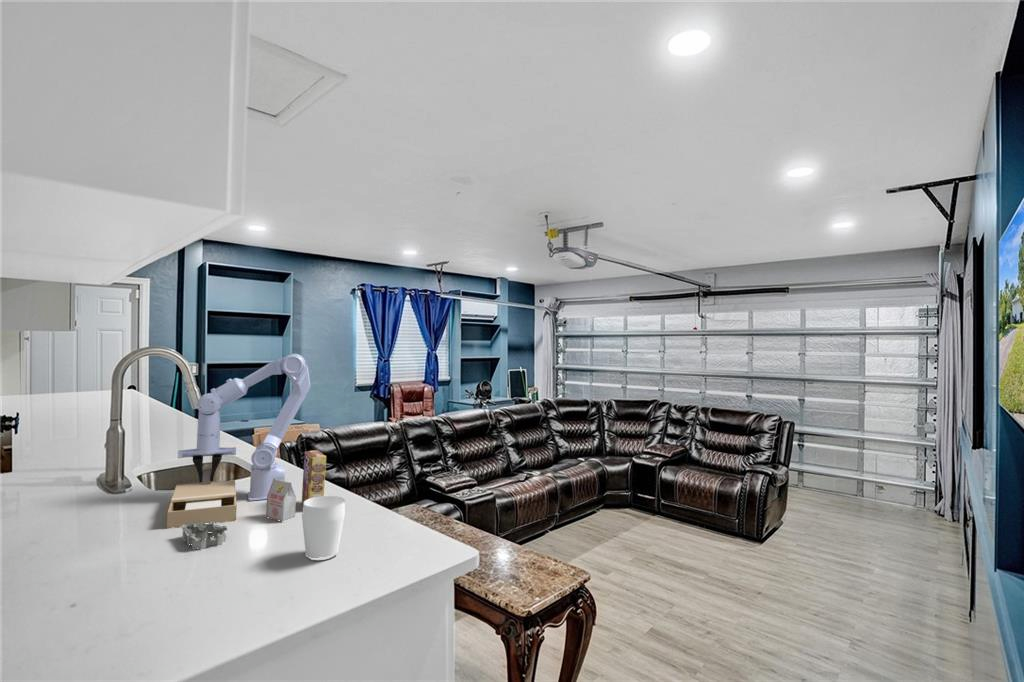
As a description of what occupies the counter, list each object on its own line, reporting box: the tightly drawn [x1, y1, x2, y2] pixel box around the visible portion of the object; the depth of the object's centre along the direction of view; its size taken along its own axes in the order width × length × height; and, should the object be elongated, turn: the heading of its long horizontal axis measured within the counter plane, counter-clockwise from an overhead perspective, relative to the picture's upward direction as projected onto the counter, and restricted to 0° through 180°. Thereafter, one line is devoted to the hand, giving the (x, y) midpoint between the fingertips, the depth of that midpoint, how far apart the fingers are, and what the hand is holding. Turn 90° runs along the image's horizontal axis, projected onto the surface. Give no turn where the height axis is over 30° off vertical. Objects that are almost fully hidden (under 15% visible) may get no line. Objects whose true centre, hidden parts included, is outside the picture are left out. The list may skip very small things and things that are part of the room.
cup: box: [301, 495, 346, 558], centre depth 114 cm, size 9×9×12 cm
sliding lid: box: [170, 468, 237, 503], centre depth 143 cm, size 15×16×4 cm
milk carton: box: [265, 479, 297, 521], centre depth 136 cm, size 4×7×10 cm, turn 61°
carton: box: [166, 496, 237, 529], centre depth 136 cm, size 15×16×4 cm
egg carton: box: [181, 522, 228, 550], centre depth 119 cm, size 11×8×4 cm
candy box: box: [301, 450, 327, 505], centre depth 147 cm, size 9×4×15 cm, turn 35°
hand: (206, 481), depth 149 cm, fingers closed on sliding lid, 2 cm apart
